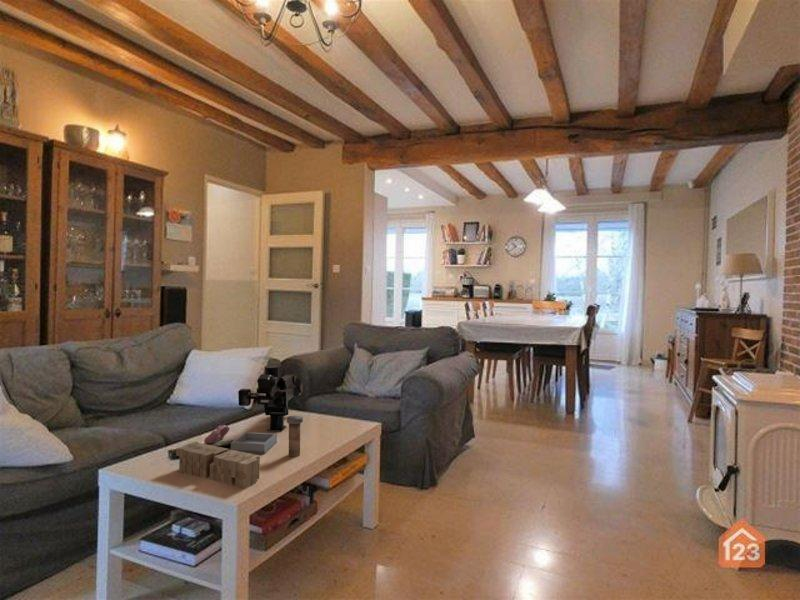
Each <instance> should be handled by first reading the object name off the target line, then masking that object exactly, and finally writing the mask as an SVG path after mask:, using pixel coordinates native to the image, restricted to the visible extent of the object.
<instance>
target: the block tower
mask: <svg viewBox="0 0 800 600" xmlns="http://www.w3.org/2000/svg"><path fill="white" fill-rule="evenodd" d="M175 450H176V452H175V455H176V456H177V457H179V463H178V465H179V467H178V471H179V473H182V474H186V475H189V476H193V477H200V478H202V479H208V478H209V480H211V481H215V482H218V483H224V484H227V485H234V486H235V487H239V488H242V487H243V489H248V488H250V487H251V486H254V485H255V484H257V483H258V480H259V479H260V466H261V465H260V462H261V456H260V454H253V453H245V452H240V451H236V450H235V451H234V450H231V449H230V450H229V449H228V448H226V447H220V446H218V445H213V444H212V445H211V444H205V443H200V442H199V441H197V440H195V441H192V442H189V443H187V444H186V443H185V445H181V446H178V447H176V449H175ZM257 479H258V480H257ZM256 482H257V483H256ZM233 483H234V484H233ZM253 484H254V485H253ZM249 486H250V487H249ZM247 487H248V488H247Z"/></svg>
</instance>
